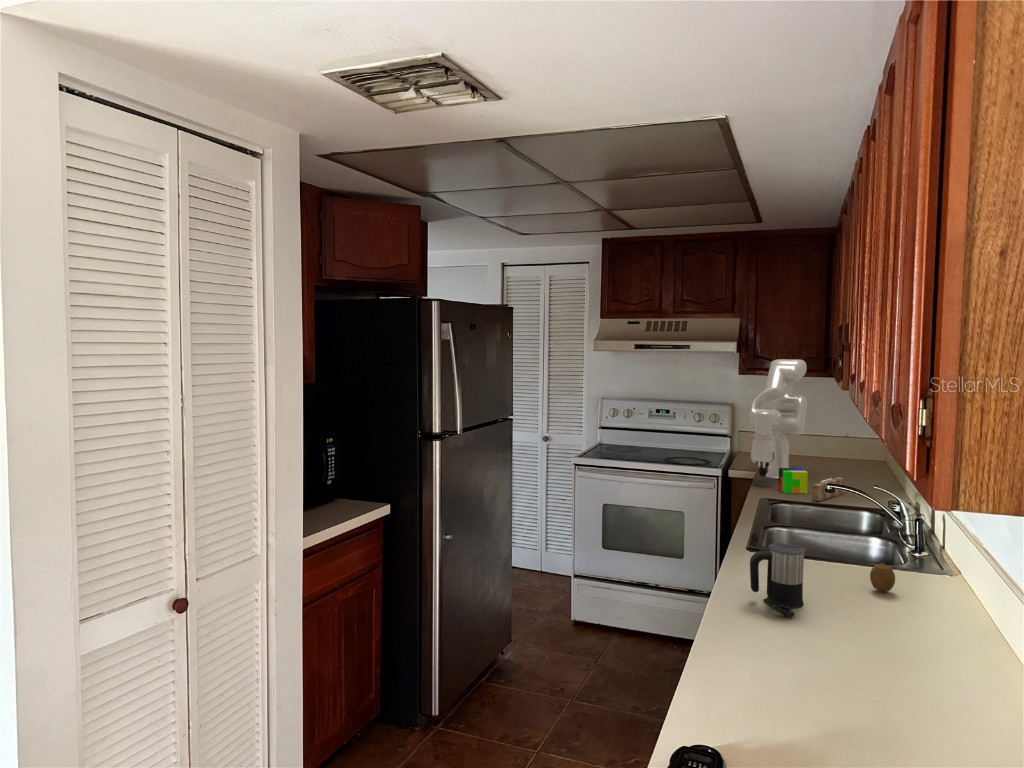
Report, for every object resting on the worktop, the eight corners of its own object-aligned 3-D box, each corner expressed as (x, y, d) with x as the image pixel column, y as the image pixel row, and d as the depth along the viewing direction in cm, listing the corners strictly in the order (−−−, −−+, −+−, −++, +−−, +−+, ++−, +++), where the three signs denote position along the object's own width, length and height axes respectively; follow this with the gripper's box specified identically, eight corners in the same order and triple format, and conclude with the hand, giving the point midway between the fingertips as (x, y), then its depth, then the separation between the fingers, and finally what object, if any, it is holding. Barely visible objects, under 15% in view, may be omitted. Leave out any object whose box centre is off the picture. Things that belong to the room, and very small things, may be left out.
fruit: (880, 596, 193) (881, 567, 193) (864, 588, 199) (865, 560, 199) (900, 594, 195) (901, 566, 194) (883, 587, 201) (884, 559, 200)
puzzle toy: (800, 489, 330) (801, 468, 330) (807, 494, 321) (807, 472, 320) (778, 489, 331) (778, 467, 331) (784, 493, 322) (784, 471, 321)
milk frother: (792, 595, 195) (793, 542, 194) (826, 617, 179) (827, 559, 178) (743, 598, 193) (744, 544, 192) (773, 621, 177) (774, 562, 176)
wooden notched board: (838, 492, 324) (838, 475, 323) (843, 493, 322) (844, 476, 321) (811, 501, 306) (812, 483, 306) (817, 502, 304) (818, 484, 304)
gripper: (744, 436, 338) (744, 474, 340) (774, 439, 327) (773, 479, 329) (753, 435, 343) (752, 472, 345) (782, 438, 332) (781, 477, 334)
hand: (762, 475), depth 337 cm, fingers closed
